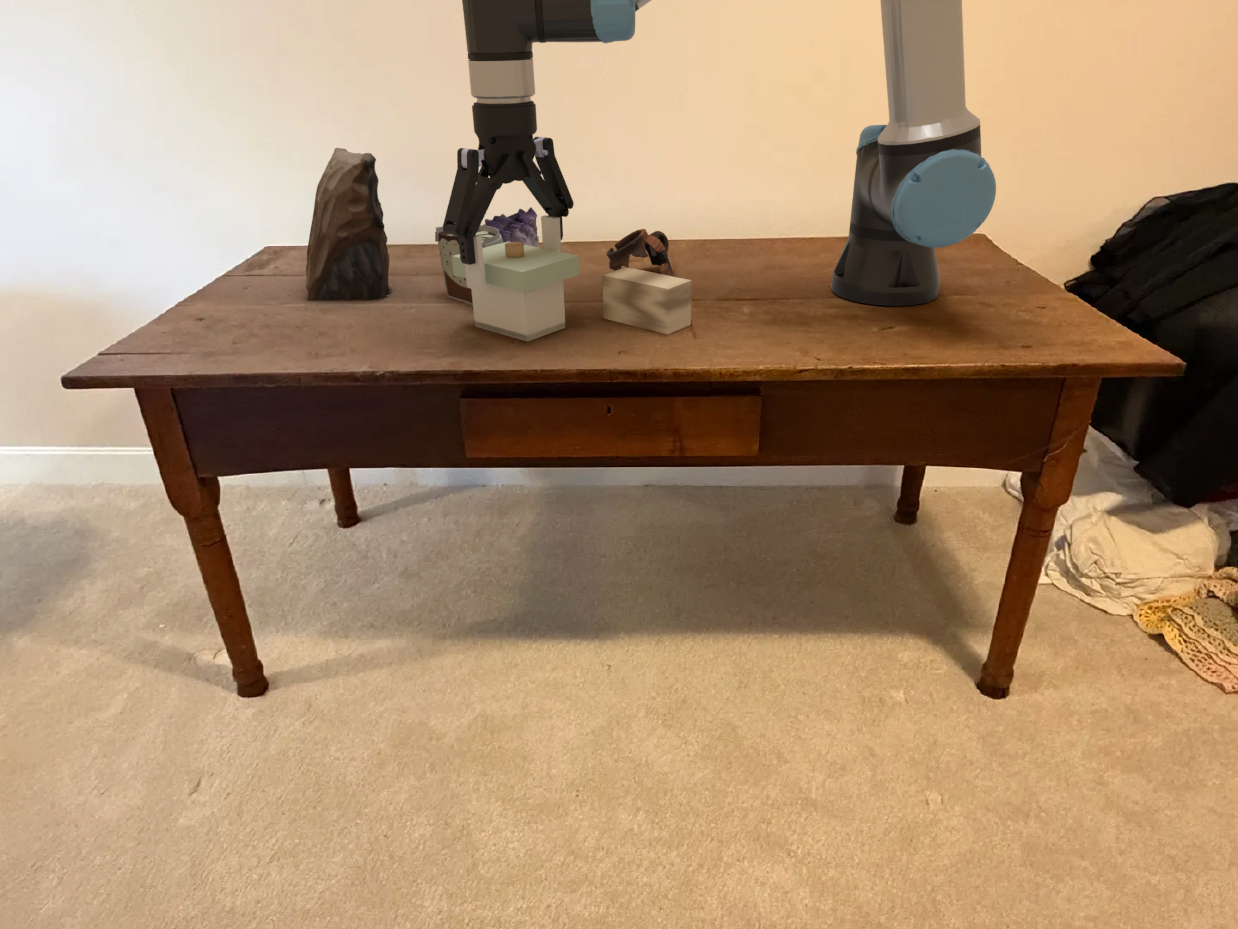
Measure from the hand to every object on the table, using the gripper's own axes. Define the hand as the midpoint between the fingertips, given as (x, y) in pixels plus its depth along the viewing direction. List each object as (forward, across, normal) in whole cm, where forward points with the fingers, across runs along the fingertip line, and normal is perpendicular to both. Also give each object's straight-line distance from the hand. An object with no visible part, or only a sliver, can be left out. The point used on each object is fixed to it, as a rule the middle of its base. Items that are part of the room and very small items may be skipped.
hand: (516, 277), depth 112 cm
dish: (+7, 0, 0) cm, 7 cm away
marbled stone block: (+7, -12, +12) cm, 18 cm away
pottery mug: (+7, -30, -3) cm, 31 cm away
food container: (+7, -6, -14) cm, 17 cm away
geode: (+7, -20, -23) cm, 31 cm away
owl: (+7, +4, -33) cm, 34 cm away
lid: (0, 0, 0) cm, 0 cm away
